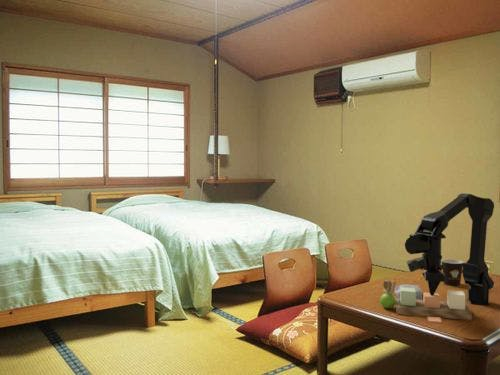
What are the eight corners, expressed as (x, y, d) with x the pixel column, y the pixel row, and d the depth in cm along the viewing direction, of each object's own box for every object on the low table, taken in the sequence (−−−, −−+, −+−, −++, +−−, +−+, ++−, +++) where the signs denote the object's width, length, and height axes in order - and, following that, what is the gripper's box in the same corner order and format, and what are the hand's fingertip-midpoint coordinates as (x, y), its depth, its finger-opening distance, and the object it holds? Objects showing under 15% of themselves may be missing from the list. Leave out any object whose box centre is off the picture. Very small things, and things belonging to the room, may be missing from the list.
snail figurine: (388, 312, 158) (389, 278, 158) (376, 306, 164) (377, 274, 164) (400, 309, 161) (401, 277, 160) (388, 304, 167) (389, 273, 166)
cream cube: (462, 305, 158) (462, 291, 158) (465, 309, 153) (465, 295, 153) (447, 304, 159) (447, 290, 159) (449, 308, 155) (449, 294, 154)
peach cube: (438, 307, 160) (438, 293, 160) (439, 311, 155) (440, 297, 155) (423, 305, 162) (423, 292, 161) (424, 310, 157) (424, 296, 157)
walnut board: (465, 309, 161) (465, 302, 160) (471, 319, 150) (471, 312, 150) (395, 304, 167) (395, 297, 167) (396, 313, 157) (396, 307, 156)
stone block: (398, 304, 173) (425, 300, 171) (395, 292, 173) (422, 288, 171) (394, 296, 184) (419, 293, 182) (392, 285, 185) (417, 281, 183)
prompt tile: (440, 318, 151) (440, 317, 151) (441, 322, 147) (441, 321, 147) (427, 317, 152) (427, 316, 152) (428, 321, 149) (428, 320, 149)
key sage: (414, 301, 162) (414, 288, 162) (415, 305, 158) (415, 292, 157) (400, 300, 164) (400, 287, 163) (400, 304, 159) (400, 291, 159)
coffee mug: (464, 283, 195) (464, 260, 195) (461, 287, 188) (461, 264, 188) (435, 279, 202) (436, 257, 201) (432, 284, 194) (432, 261, 194)
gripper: (406, 245, 169) (406, 286, 169) (410, 255, 151) (409, 301, 151) (438, 247, 166) (437, 288, 166) (445, 257, 148) (445, 303, 148)
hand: (431, 294), depth 158 cm, fingers closed, pressing on peach cube
